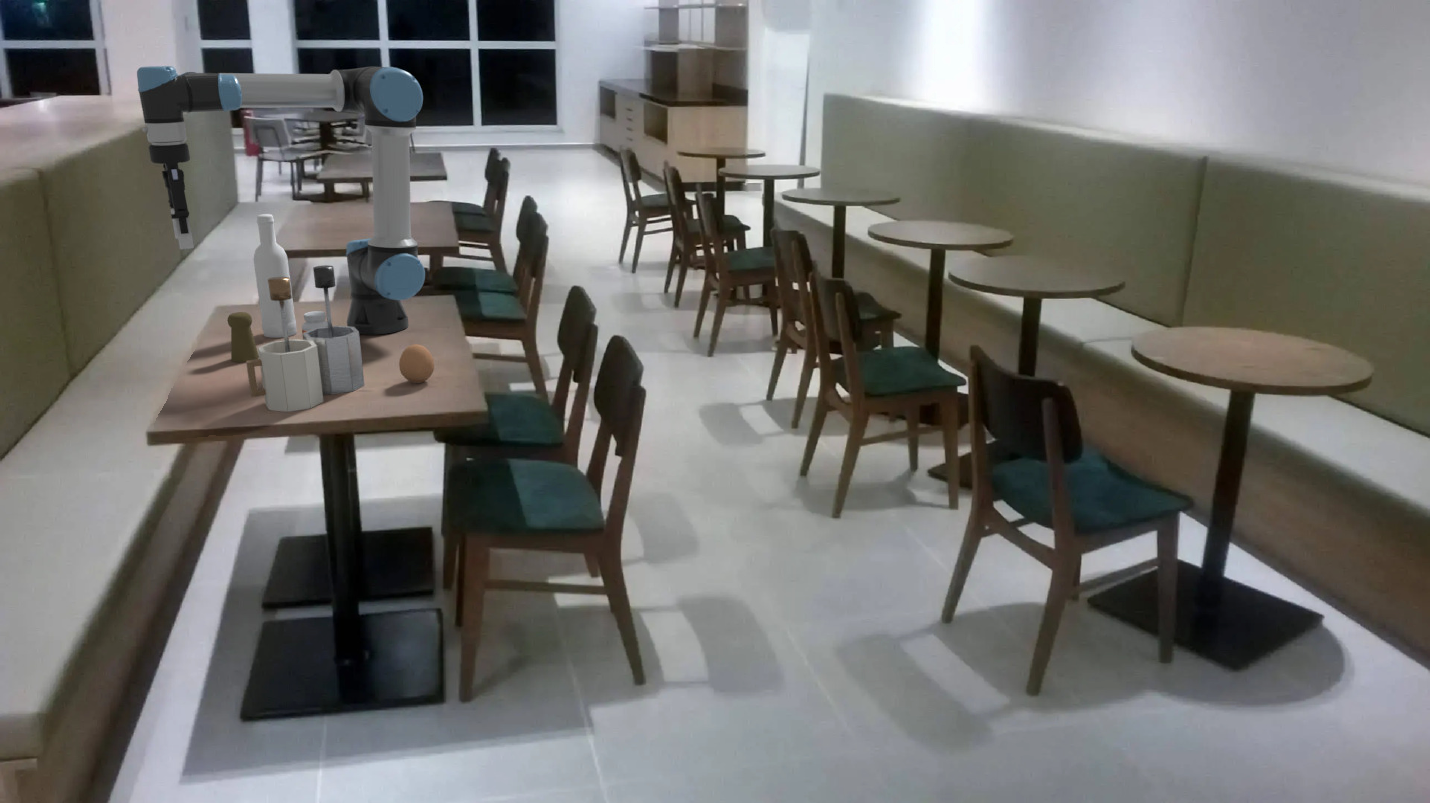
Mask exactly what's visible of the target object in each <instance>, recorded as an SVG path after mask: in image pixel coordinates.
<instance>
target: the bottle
mask: <svg viewBox="0 0 1430 803" xmlns="http://www.w3.org/2000/svg"><path fill="white" fill-rule="evenodd" d="M256 219H257V220H256V223H257V227H258V234H259V239H260V241H259V242H260V244H259V245H258V247H257V248H256V249H255V250H254V254H253V265H254V272H255V278H256V280H255V281H256V288H257V294H258V295H257V296H258V302H259V309H260V318H261V327H262V328H261V329H262V332H263V336H264V337H266V338H271V339H272V338H273V339H279V338H280V339H282V338H284V335H283V328H282V320H281V312H280V304H279V301H273V300H271V299H270V292H269V285H268V279H269V278H273V277H289V279H290V280H291V276H290V268H289V261H288V260H289V259H288V255H287V253H286V251H285V248H284V247H282V246H281V245H280V244H279V243H277V239H276V238H277V237H276V229H275V224H274V223H275V219H274V216H273V214H271V213H264V214H263V213H262V214H258V215H256ZM290 287H291V288H292V283H291V282H290ZM291 295H292V296H293V291H292V290H291ZM284 306H285V313H286V321H287V329H288V337H291V336H294V335H296V334H297V321H296V316H295V315H296V314H295V308H294V301H293V297H292V298H291V299H289V300H284Z"/></svg>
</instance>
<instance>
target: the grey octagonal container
mask: <svg viewBox="0 0 1430 803" xmlns="http://www.w3.org/2000/svg"><path fill="white" fill-rule="evenodd" d="M332 328H333V338H329V332H328V327H320V328H314V329H312V330H309V331H307V332H304V333H302V340H312V341H313V342H314V343H315V344H316V345H317V351H318V359H319V368H320V376H321V384H322V393H323V395H336V394H344V393H351V392H354V391H356V390H358V389H361V388H362V387H364V386H365V378H364V368H363V359H362V358H363V357H362V349H361V348H362V347H361V340H360V339H361V338H360V334H359V331H358V330H357V329H356V328H355V327H349V326H347V325H332Z"/></svg>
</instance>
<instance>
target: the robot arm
mask: <svg viewBox="0 0 1430 803" xmlns="http://www.w3.org/2000/svg"><path fill="white" fill-rule="evenodd" d="M136 77H137V78H136V79H137V86H138V87H137V88H138V89H137V91H138V95H139V98H140V104H141V109H142V110H141V112H142V116H143V120H144V125H145V127H142V129H141V130H142V132H143V133H146V138H147V142H148V143H151V144H149V146H148V152H149V157H150V162H151V163H153V164H157V165H158V164H159V165H161V164H162V165H163V166H162V167H163V169H164V170H161V175H162V178H163V180H164V185H165V188H166V190H167V197H168V203H169V204H168V205H169V207H170V215H171V220H172V225H173V226H172V227H173V233H174V238H175V240H178V245H179V250H189V249H194V248H195V246H194V239H193V234H192V226H191V221H190V211H189V209H188V205H187V203H188V202H187V197H186V193H185V191H186V186H185V184H186V183H185V174H184V171H183V169H180V168H179V163H187V162H189V161H190V160H191V156H190V150H189V145H188V143H186V141H187V140H188V135H187V130H186V123H185V119H184V113H187V114H189V113H203V112H207V113H209V112H225V113H226V112H229V111H237V110H239V109H241V108H242V109H246V108H247V109H249V108H254V109H255V108H256V109H257V108H260V109H261V108H263V109H264V108H267V109H268V108H331V109H332V108H333V109H334V111H336V112H338V113H339V112H340V113H341V112H345V113H347V112H348V113H349V112H350V113H356V114H362V115H363V116H364V117H363V118H364V121H363V122H364V127H365V128H366V129H367V130H368V131H369V132H370V135H371V155H372V156H371V158H372V159H371V160H372V161H371V162H372V163H371V164H372V165H371V167H372V203H373V236H372V237H371V238H364V239H363V238H362V239H355V240H350V241H348V242H347V243H346V248H345V249H346V253H345V258H346V260H347V261H346V262H347V269H348V270H347V271H348V272H347V273H348V280H349V287H350V288H349V289H350V295H351V297H350V298H351V300H350V306H349V310H348V315H347V319H346V326H349V327H355V328H356V329H357V330H358V331H359V335H370V336H371V335H385V334H390V333H391V334H392V333H395V332H399V331H400V332H401V331H403V330H404V329H407V328H408V327H409V317H408V315H407V311H406V310H405V307H404V305H403V303H402V301H405V300H409V299H411V298H413V297H415V295H417V293H419V292H420V290H421V289H422V287H423V285H424V283H425V278H426V270H425V267H424V265H423V263H422V261H421V260H420V259H419V258H418V256H419V255H418V254H419V252H418V246H419V245H418V242H417V241H416V240H415V239H414V238H413V237H412V227H411V226H412V225H411V221H412V220H411V219H412V218H411V169H410V168H411V165H410V162H411V161H410V160H411V159H410V156H411V155H410V137H411V134H412V133H413V132H414V131H415V130H416V128H417V126H416V125H417V115H418V114H419V112H420V111H421V109H422V107H423V101H424V95H423V94H424V93H423V90H422V88H421V85H420V83H419V81H418V80H417V79H416V78H415V76H414V75H412V74H411V73H410V72H408V71H406V70H403V69H401V68H398V67H393V66H375V65H374V66H366V67H358V68H351V69H350V68H349V69H332V71H330V73H328V74H327V73H248V72H246V73H243V72H242V73H239V72H237V73H236V72H235V73H234V72H228V73H227V72H217V73H215V72H214V73H213V72H195V71H187V72H185V73H182V74H178V72H177V70H176V68H175V66H170V65H162V66H159V65H155V66H153V65H152V66H150V65H149V66H142V67H139V68H138V69H137V71H136Z"/></svg>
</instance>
